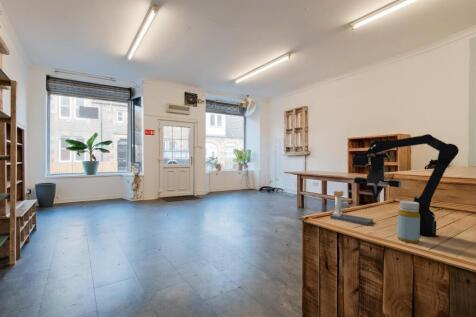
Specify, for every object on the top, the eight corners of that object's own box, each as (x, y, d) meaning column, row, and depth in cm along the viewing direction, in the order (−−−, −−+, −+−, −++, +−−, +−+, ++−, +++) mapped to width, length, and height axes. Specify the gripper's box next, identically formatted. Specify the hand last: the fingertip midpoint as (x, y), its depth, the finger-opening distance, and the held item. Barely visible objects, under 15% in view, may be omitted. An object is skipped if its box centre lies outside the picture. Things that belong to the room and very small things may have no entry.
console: (373, 222, 119) (373, 219, 119) (368, 225, 113) (368, 222, 113) (336, 215, 132) (336, 212, 132) (330, 218, 125) (330, 215, 125)
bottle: (423, 244, 89) (424, 204, 89) (402, 242, 91) (403, 203, 91) (413, 238, 96) (414, 201, 96) (394, 236, 98) (395, 200, 98)
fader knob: (343, 214, 127) (344, 191, 127) (340, 216, 124) (340, 192, 123) (336, 213, 130) (336, 190, 130) (332, 214, 126) (332, 191, 126)
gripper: (350, 166, 114) (349, 198, 114) (397, 168, 101) (395, 205, 102) (358, 165, 122) (357, 196, 122) (402, 168, 109) (400, 202, 110)
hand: (375, 199), depth 114 cm, fingers closed
